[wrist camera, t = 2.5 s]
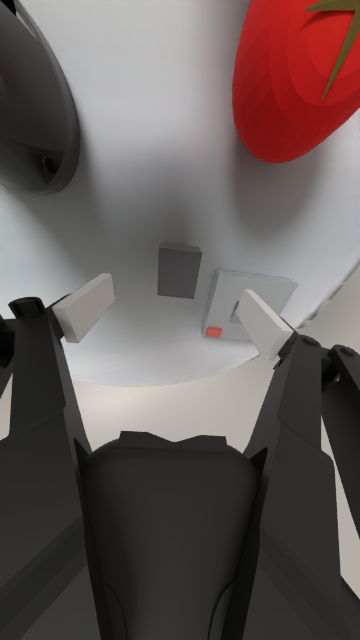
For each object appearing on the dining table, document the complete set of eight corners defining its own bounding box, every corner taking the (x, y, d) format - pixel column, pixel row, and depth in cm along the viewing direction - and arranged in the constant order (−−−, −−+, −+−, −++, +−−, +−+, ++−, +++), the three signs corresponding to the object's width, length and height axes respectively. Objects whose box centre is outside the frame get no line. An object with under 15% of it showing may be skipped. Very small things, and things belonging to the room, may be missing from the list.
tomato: (235, 192, 21) (274, 174, 12) (208, 55, 15) (246, -169, 6) (334, 135, 18) (476, 58, 9) (349, -66, 12) (806, -834, 3)
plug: (165, 238, 24) (159, 247, 17) (195, 242, 24) (202, 252, 17) (163, 274, 28) (157, 295, 20) (190, 277, 28) (193, 298, 20)
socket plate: (215, 269, 27) (220, 276, 24) (287, 278, 28) (301, 285, 25) (200, 328, 35) (202, 339, 32) (257, 333, 36) (264, 345, 33)
